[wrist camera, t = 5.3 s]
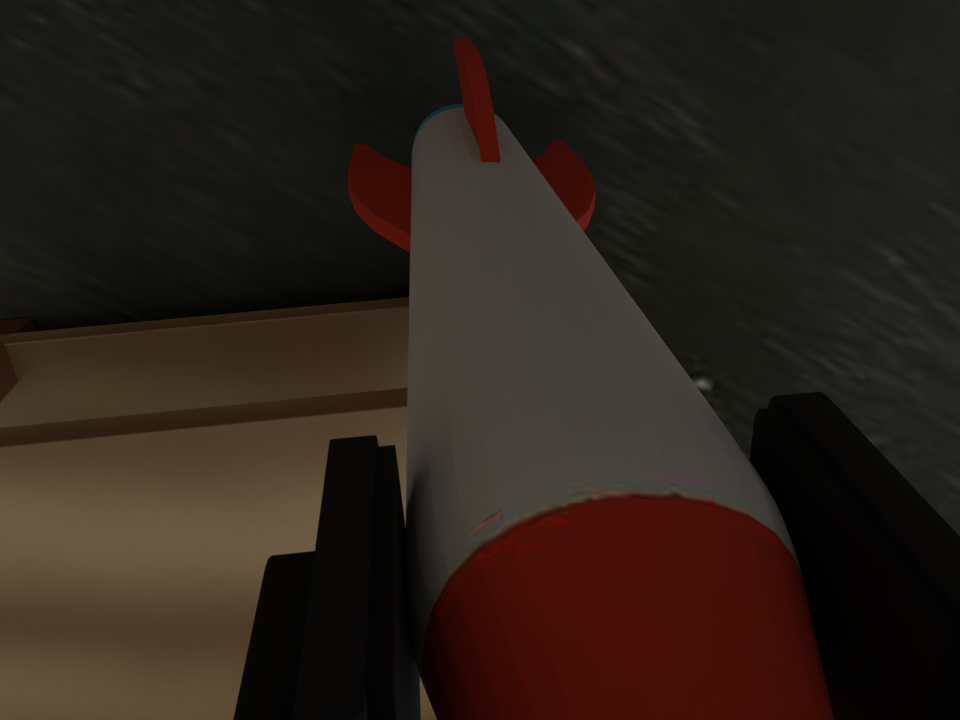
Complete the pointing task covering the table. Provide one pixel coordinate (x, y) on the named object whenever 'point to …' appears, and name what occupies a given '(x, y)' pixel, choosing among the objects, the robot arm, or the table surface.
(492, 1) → the table surface
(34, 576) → the rack
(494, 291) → the toy rocket
